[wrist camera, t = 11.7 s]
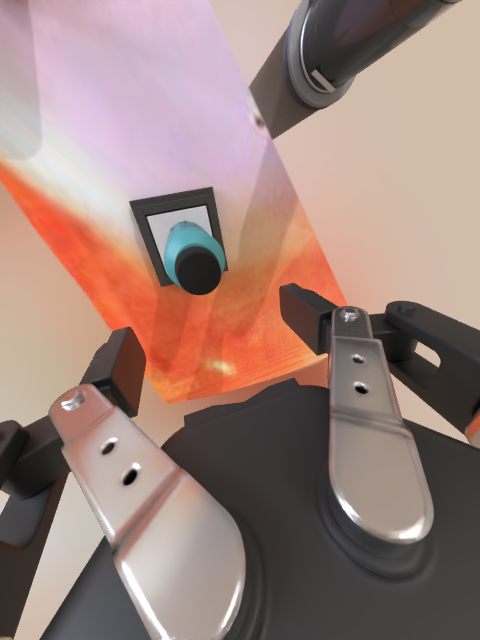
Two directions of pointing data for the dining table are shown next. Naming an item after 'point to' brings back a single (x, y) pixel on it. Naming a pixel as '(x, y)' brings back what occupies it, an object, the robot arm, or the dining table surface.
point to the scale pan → (167, 221)
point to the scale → (172, 204)
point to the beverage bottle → (193, 258)
